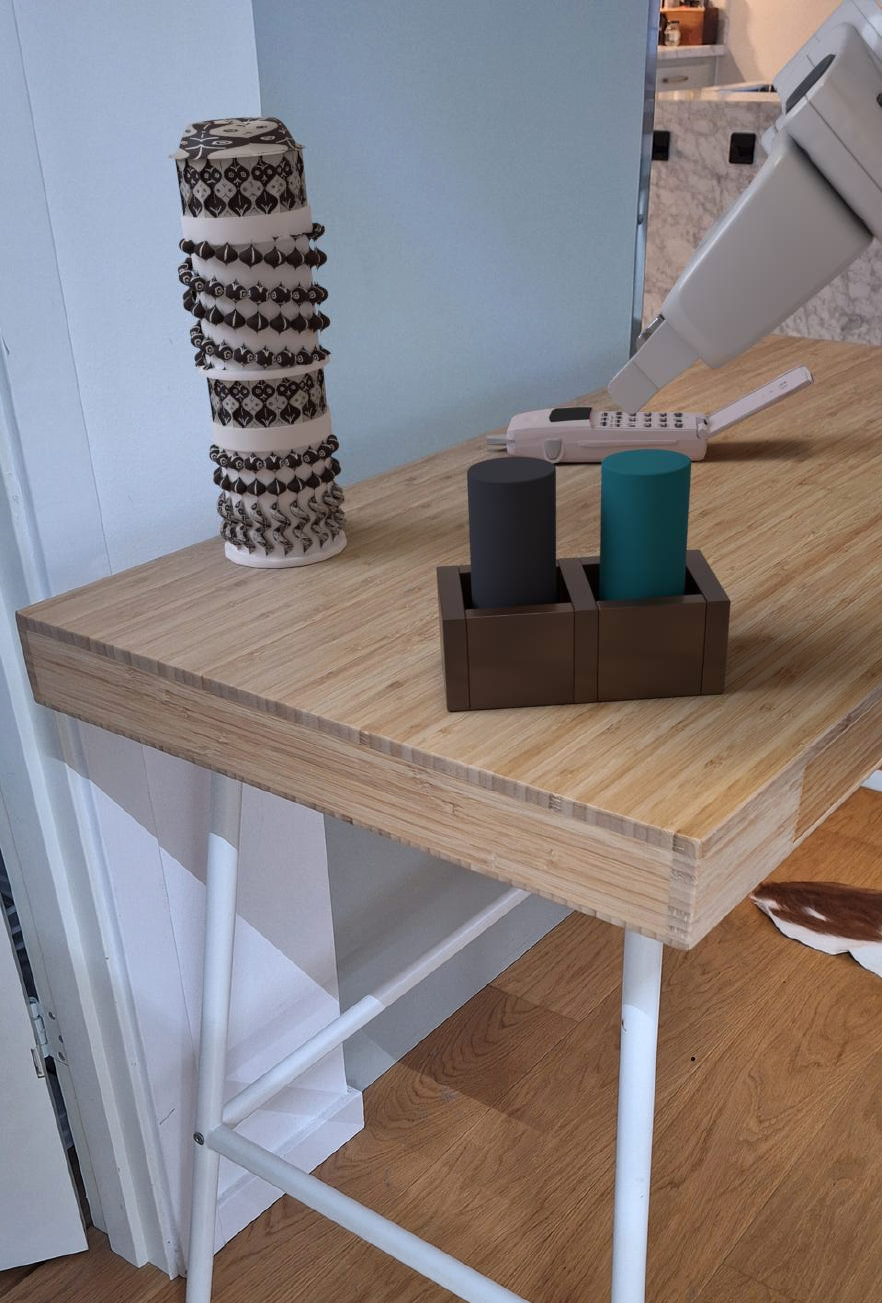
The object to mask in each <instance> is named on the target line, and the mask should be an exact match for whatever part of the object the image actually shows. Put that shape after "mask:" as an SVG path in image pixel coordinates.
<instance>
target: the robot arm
mask: <svg viewBox="0 0 882 1303" xmlns="http://www.w3.org/2000/svg"><path fill="white" fill-rule="evenodd" d="M878 2H879V3H880V4H879V3H878ZM881 5H882V0H878V1H877V0H842V1H841V2H840V3H839V4H838V6H837V7H836V8H835V9H834V10H833V11H832V13H831V14H829V15H828V17H827V18H826V19H825V20H824V21H823V22H822V23H821V25H819V27H818V28H817V29H816V30H815V31H814V33H813V34H811V36H810V37H809V38H808V39H807V40H806V42H805V43H804V44H803V45H802V46H801V47H800V48H799V49H798V51H797V52H795V53H794V55H793V56H792V57H791V58H790V59H789V60H788V62H787V63H785V65H784V66H783V67H782V68H781V69H780V71H778V73H777V74H776V75H775V76H774V77H773V79H772V86H773V88H774V91H775V92H776V93H777V96H778V97H779V100H780V101H781V102H780V106H781V111H782V112H781V115H780V116H779V117H778V118H777V119H776V120H775V124H772V125H770V126H769V127H768V129H767V130H766V131H765V132H764V133H763V134H761V137H760V141H761V143H760V144H761V145H762V147H763V149H764V151H765V153H766V154H767V158H766V159H765V161H764V163H763V164H762V166H761V167H760V169H759V170H758V171H757V173H756V174H755V176H754V178H753V179H752V181H751V182H750V183H749V184H748V186H746V188H745V189H744V190H743V191H742V192H741V193H740V194H739V195H738V197H737V198H735V200H733V202H731V204H730V205H729V206H728V207H727V208H726V209H725V211H723V212H722V214H720V216H719V217H718V218H717V219H716V220H715V221H714V222H713V224H711V226H710V227H709V228H708V229H707V231H706V232H705V234H704V235H703V237H702V239H701V240H700V242H699V244H698V245H697V247H696V249H695V250H694V252H693V254H692V255H691V257H690V258H689V260H688V262H687V264H686V265H685V267H684V268H683V270H682V272H681V274H680V275H679V277H678V278H677V280H676V282H674V285H673V286H672V288H671V289H670V291H669V292H668V293H667V295H666V297H665V299H664V300H663V303H662V305H661V310H660V311H659V312H658V314H656V315H655V317H653V319H652V320H651V321H650V322H648V324H647V325H646V326H645V327H644V328H643V329H642V331H640V333H639V335H638V336H637V338H636V340H635V341H636V342H635V348H636V352H635V353H634V355H633V356H632V357H630V359H628V361H626V363H625V364H623V366H622V367H621V368H620V369H619V370H618V371H617V373H615V374H614V375H613V377H612V379H610V381H609V384H608V386H607V392H608V396H609V397H610V398H611V399H612V400H613V401H614V403H615V404H616V405H617V406H618V407H619V408H620V409H621V410H622V412H625V413H627V414H635V413H637V412H640V411H641V410H642V408H643V407H645V406H646V405H647V403H648V402H649V401H651V400H652V399H653V398H654V397H655V395H657V393H658V392H660V390H662V389H664V388H665V387H666V386H668V385H669V384H670V383H672V382H673V381H674V380H676V379H677V378H679V377H680V376H681V375H682V374H684V373H685V372H686V371H687V370H689V369H690V368H691V367H692V366H693V365H694V364H695V363H696V362H697V361H698V360H699V359H700V360H701V361H702V363H704V364H705V365H706V366H707V367H708V368H709V369H711V370H715V371H716V370H717V371H718V370H720V369H722V368H724V367H726V366H728V365H730V364H731V363H733V362H734V361H736V360H737V359H739V358H740V357H742V356H743V355H744V354H746V353H747V352H749V351H750V350H752V349H753V348H754V347H755V346H756V345H758V344H759V343H760V342H762V340H764V339H765V338H766V337H768V336H769V335H770V334H771V333H772V332H774V331H775V330H776V329H777V328H778V327H780V326H781V325H782V324H784V323H785V322H786V321H787V320H788V319H789V318H791V317H792V316H793V315H794V314H796V312H798V311H799V310H801V309H802V308H803V307H804V306H805V305H806V304H807V303H809V302H810V301H811V300H812V299H813V298H814V297H816V296H817V295H818V294H819V293H821V292H822V290H824V289H825V288H826V287H827V286H828V285H830V284H831V283H832V282H833V281H835V280H836V279H837V278H838V277H840V275H841V274H843V273H844V272H845V271H846V270H847V269H848V268H849V267H851V265H853V264H854V263H855V262H856V261H857V260H858V259H859V258H860V257H861V256H862V255H863V254H864V253H865V252H866V251H867V250H869V249H870V247H871V246H872V245H873V243H874V240H875V239H876V240H877V242H879V244H880V245H881V246H882V7H881Z"/></svg>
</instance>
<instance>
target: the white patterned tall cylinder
mask: <svg viewBox="0 0 882 1303" xmlns="http://www.w3.org/2000/svg"><path fill="white" fill-rule="evenodd" d="M306 148H307V147H306V145H304V144H300V143H297V142H296V141H295V138H294V137H293V135H292V134H291V133H290V130H289V128H287V125H286V124H284V122H283V121H282V120H280V119H279V118H277V117H274V116H273V117H271V116H247V117H246V116H245V117H230V118H220V119H210V120H209V119H208V120H202V121H197V122H193V123H189V125H187V126H186V127H185V129H184V131H183V133H182V136H181V139H180V142H179V145H178V148H177V150H176V151H175V152H174V153H172V154H169V155H168V159H173V160H174V161H175V168H176V174H177V181H178V189H179V196H180V203H181V210H182V211H181V212H180V222H181V229H182V236H183V238H182V239H180V241H179V242H178V248H179V250H180V251H182V252H183V253H184V254H187V257H185V259H184V261H182V262H181V263H180V264H179V265H178V267H177V272H178V280H179V282H180V283H181V284H182V285H184V286H186V287H188V289H186V290H185V291H184V292H183V294H182V300H183V302H182V306H183V309H184V310H185V311H187V312H189V313H190V314H191V315H192V316H193V317H194V318H196V319H197V321H196V324H194V325H193V326H191V327H190V330H189V335H190V343H191V345H192V346H193V347H195V348H196V349H199V350H198V352H197V353H195V355H194V357H193V359H194V361H195V362H194V366H195V367H196V368H197V370H198V374H199V375H200V376H203V377H206V382H207V390H208V397H209V398H208V399H209V403H210V410H211V415H209V418H210V419H209V422H210V423H209V424H210V428H211V437H212V444H211V446H210V447H209V454H208V457H209V459H210V460H211V461H212V462H214V463H216V464H217V465H218V467H217V468H215V469H214V471H213V478H212V481H213V483H214V484H215V486H218V487H219V488H220V489H221V490H223V491H222V492H220V494H219V496H218V498H217V500H216V511H217V514H218V515H219V516H220V517H221V518H222V519H221V522H220V528H219V533H220V535H221V537H222V539H224V540H225V543H224V552H225V553H224V554H225V558H226V559H228V560H229V561H231V562H233V563H234V564H236V565H241V566H245V567H250V568H255V569H256V568H259V569H260V568H261V569H283V568H291V567H293V568H294V567H302V566H307V565H310V564H315V563H319V562H322V561H325V560H328V559H330V558H332V557H334V556H336V555H339V554H340V553H341V552H342V551H344V549H345V548H346V547H347V545H348V541H347V536H346V534H345V531H344V530H342V529H343V528H344V527H345V526H346V524H347V521H348V520H347V518H346V517H345V516H346V514H345V511H344V509H342V508H341V507H340V506H341V505H342V504H344V502H345V501H346V500H345V499H346V498H345V495H344V490H343V488H342V486H340V485H339V484H338V483H337V482H335V478H336V477H337V476H339V475H340V474H341V472H342V467H341V465H340V461H339V460H338V459H337V458H335V457H333V456H332V455H333V454H334V453H336V452H337V451H338V450H339V448H340V442H339V440H338V437H337V436H336V435H335V434H334V433H333V426H332V416H331V414H332V413H331V409H330V407H329V405H328V403H327V402H328V401H327V390H326V389H327V388H326V382H325V381H326V380H325V379H326V378H325V370H324V367H326V366H327V365H328V364H329V363H331V358H330V355H332V353H331V352H330V351H329V350H328V349H326V348H324V347H323V346H322V344H321V343H320V340H319V334H320V336H321V334H322V332H323V331H324V330H325V329H327V328H328V327H330V325H331V318H330V317H328V316H327V315H325V313H322V311H321V310H320V309H316V304H317V306H318V307H320V306H321V304H322V303H325V301H326V300H327V299H328V298H329V291H328V289H327V288H325V287H323V286H321V285H320V284H319V283H318V282H316V281H314V279H313V269H312V268H314V267H315V268H316V272H318V271H319V268H321V266H323V265H325V264H326V263H327V261H328V255H327V254H326V252H324V251H322V250H321V249H319V248H318V246H317V245H314V247H313V248H314V249H312V247H311V245H310V241H311V240H312V241H313V243H316V242H317V240H318V239H319V238H321V237H322V236H323V235H325V231H326V228H325V225H322V224H320V223H319V222H313V218H312V216H313V215H312V206H311V204H310V203H309V202H308V196H307V195H308V194H307V186H306V185H307V184H306V173H305V162H304V154H303V150H304V149H306ZM192 272H193V273H192Z"/></svg>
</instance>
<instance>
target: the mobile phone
mask: <svg viewBox="0 0 882 1303" xmlns="http://www.w3.org/2000/svg"><path fill="white" fill-rule="evenodd" d="M813 384H815V380H814V377H813V374H812V373H811V372H810V370H809V369H808V368H807V367H806V366H805V365H804V364H803V363H801V364H799V365H796V366H795V367H793V368H792V369H789V370H787V371H785V372H783V373H781V374H779V375H778V376H776V377H774V378H773V379H772V380H769V381H768V382H766V383H764V384H762V385H760V386H759V387H757V388H755V389H754V390H751V391H750V392H748V393H746V394H744V395H743V396H741V397H739V398H738V399H736V400H733V401H732V402H730V403H729V404H727V405H725V406H723V407H721V408H719V409H718V410H716V411H714V412H712V413H710V414H709V415H706V413H705V412H702V411H698V412H675V411H673V412H672V411H668V412H667V411H638V412H637V413H635V414H627V413H625V412H624V411H610V410H609V411H605V410H603V411H602V410H600V411H598V410H596V408H594V407H593V406H592V405H590V406H588V405H587V406H564V407H562V406H561V407H552V408H544V409H538V410H537V409H536V410H532V411H527V412H522V413H518V414H516V415H514V416H512V417H511V420H510V422H509V425H508V427H507V431H506V433H505V434H492V435H491V434H490V435H486V439H485V440H486V445H487V446H500V447H501V446H502V447H505V448H506V451H507V454H509V455H510V456H512V457H532V458H538V459H543V460H546V461H549V462H551V463H553V464H557V463H602V461H603V460H604V459H605V458H606V457H608V456H610V455H612V454H615V453H619V452H623V451H629V450H639V449H659V450H669V451H674V452H678V453H681V454H684V455H686V456H688V457H689V458H690V459H691V462H695V461H696V462H697V461H702V460H704V459H705V456H706V454H707V449H708V448H707V447H708V440H710V439H712V438H714V437H716V436H719V435H720V434H721V433H723V432H725V431H727V430H729V429H731V428H733V427H734V426H736V425H738V424H740V423H742V422H744V421H746V420H747V419H749V418H751V417H753V416H755V415H757V414H759V413H760V412H761V413H762V412H763V411H765V410H766V409H768V408H770V407H772V406H775V405H776V404H778V403H780V402H782V401H784V400H786V399H788V398H790V397H791V396H793V395H796V394H798V393H799V392H801V391H803V390H804V389H806V388H808V387H809V386H811V385H813Z"/></svg>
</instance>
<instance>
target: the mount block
mask: <svg viewBox="0 0 882 1303" xmlns="http://www.w3.org/2000/svg"><path fill="white" fill-rule="evenodd" d="M435 570H436V588H437V604H438V606H437V607H438V621H439V622H438V624H439V626H438V627H439V643H440V644H439V645H440V656H441V666H442V675H443V685H444V686H443V687H444V695H445V696H444V697H445V703H446V704H445V705H446V711H447V712H458V711H459V712H460V711H470V710H471V711H473V710H474V711H475V710H487V709H505V708H506V709H507V708H518V707H520V708H521V707H533V706H534V707H535V706H550V705H551V706H552V705H566V704H581V703H582V704H584V703H596V702H609V701H623V700H624V701H625V700H639V699H654V698H655V699H656V698H669V697H686V696H699V695H703V696H704V695H716V694H717V695H718V694H720V695H721V694H724V693H725V685H726V684H725V683H726V673H727V672H726V670H727V656H728V644H729V632H730V631H729V630H730V619H731V618H730V617H731V616H730V615H731V604H732V603H731V601H732V600H731V599H730V598H729V595H728V594H727V592H726V590H725V589H724V587H723V585H722V584H721V582H720V581H719V579H718V578H717V576H716V574H715V572H714V571H713V569H712V567H711V566H710V564H709V562H708V561H707V559H706V557H705V555H704V554H703V553H702V551H701V549H687V554H686V572H685V591H684V595H683V596H668V597H653V598H638V599H622V600H607V601H599V583H600V555H591V556H580V557H579V556H577V557H576V556H575V557H561V558H560V557H559V558H556V604H544V605H529V606H514V607H498V608H483V609H472V587H471V563H469V564H460V565H457V564H456V565H455V564H454V565H440V566H436V567H435Z"/></svg>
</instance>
